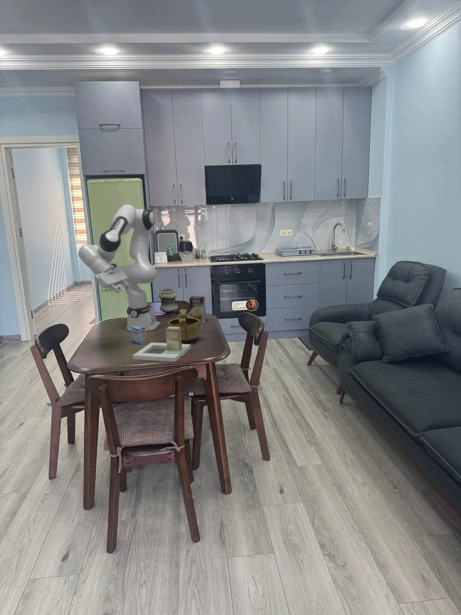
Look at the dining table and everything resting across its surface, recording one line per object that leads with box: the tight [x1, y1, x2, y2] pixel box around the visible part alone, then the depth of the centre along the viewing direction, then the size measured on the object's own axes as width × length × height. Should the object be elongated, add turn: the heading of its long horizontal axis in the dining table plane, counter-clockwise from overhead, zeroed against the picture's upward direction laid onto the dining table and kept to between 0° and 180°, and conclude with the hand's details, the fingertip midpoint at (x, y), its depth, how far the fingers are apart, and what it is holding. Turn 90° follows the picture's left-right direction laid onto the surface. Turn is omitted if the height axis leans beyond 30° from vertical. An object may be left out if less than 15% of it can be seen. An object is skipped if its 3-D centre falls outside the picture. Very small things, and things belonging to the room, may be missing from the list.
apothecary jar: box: [158, 288, 179, 318], centre depth 281 cm, size 12×12×18 cm
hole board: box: [132, 342, 192, 363], centre depth 207 cm, size 20×22×2 cm
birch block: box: [165, 327, 183, 351], centre depth 203 cm, size 4×6×11 cm, turn 74°
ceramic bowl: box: [167, 308, 201, 343], centre depth 225 cm, size 22×17×15 cm
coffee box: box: [188, 296, 207, 324], centre depth 261 cm, size 9×6×16 cm
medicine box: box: [130, 326, 147, 345], centre depth 226 cm, size 8×4×9 cm, turn 44°
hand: (123, 290), depth 208 cm, fingers open, 8 cm apart
